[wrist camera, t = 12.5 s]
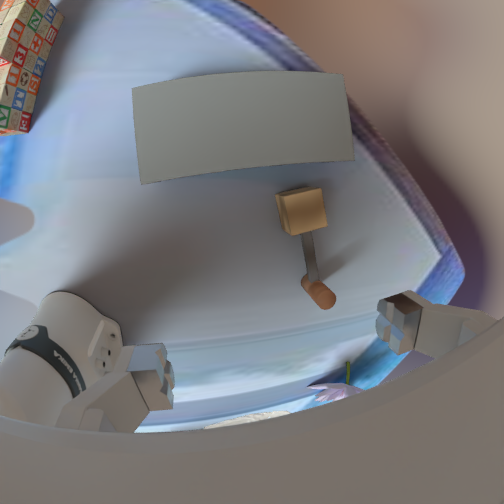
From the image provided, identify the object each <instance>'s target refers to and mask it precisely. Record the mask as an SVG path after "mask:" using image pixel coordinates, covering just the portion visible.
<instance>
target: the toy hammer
mask: <svg viewBox="0 0 504 504" xmlns="http://www.w3.org/2000/svg"><path fill="white" fill-rule="evenodd" d="M275 198H276V202H277V207H278V211H279V216H280V221H281V226H282V229H283V230H284V231H286V232H287V233H288V234H290V235H291V236H293V235H297V234H300V235H301V240H302V246H303V251H304V257H305V263H306V268H307V274H306V275H305V276H304V277H303V278H302V280H301V286H302V287H303V288H304V290H305V291H306V292H307V293H308V294H309V295H310V297H311V298H312V299H313V300H314V301H315V302H316V303H317V305H318V306H319V307H320V308H321V309H324V310H327V309H330V308H331V307H333V305H334V304H335V302H336V295H335V294H334V293H333V292H332V291H331V290H330V289H329V288H328V287H327V286H326V285H325V284H323V283H322V282H321V281H320V280H319V276H318V269H317V263H316V257H315V251H314V245H313V239H312V233H311V231H312V230H316V229H319V228H323V227H327V226H328V225H327V219H326V213H325V207H324V201H323V196H322V191H321V188H315V187H304V188H300V189H296V190H291V191H287V192H282V193H278V194H275Z"/></svg>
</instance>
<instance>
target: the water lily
mask: <svg viewBox="0 0 504 504" xmlns="http://www.w3.org/2000/svg"><path fill="white" fill-rule="evenodd" d="M346 363H347V378H346V384H344V383H326V384H317V385H312V386H308V388H312V389H326V390H324V391H322V392H320V393H318V394H317V395H315V396H319V397H318V398H317V399H316V400H315V401H319V400H321V401H319V402H322V401H325V400H327V401H329V400H332V399H334V400H333V401H336V400H339V399H342V398H345V397H348V396H351V395H354V394H357V393H359V392H362V391H365V390H363V389H361V388H358V387H355V386H350V385H349V377H350V362H346ZM327 388H328V389H327Z"/></svg>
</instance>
